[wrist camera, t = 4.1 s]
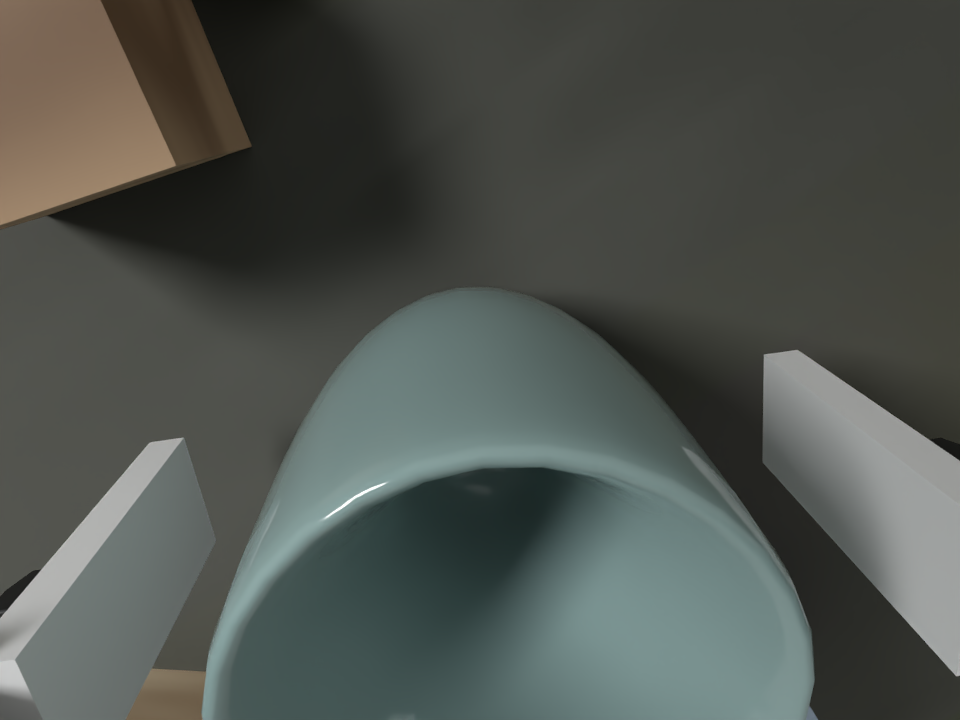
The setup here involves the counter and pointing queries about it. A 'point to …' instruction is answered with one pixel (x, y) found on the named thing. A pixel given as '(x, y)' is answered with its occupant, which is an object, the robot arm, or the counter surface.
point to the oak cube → (170, 696)
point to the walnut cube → (104, 100)
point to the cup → (503, 543)
